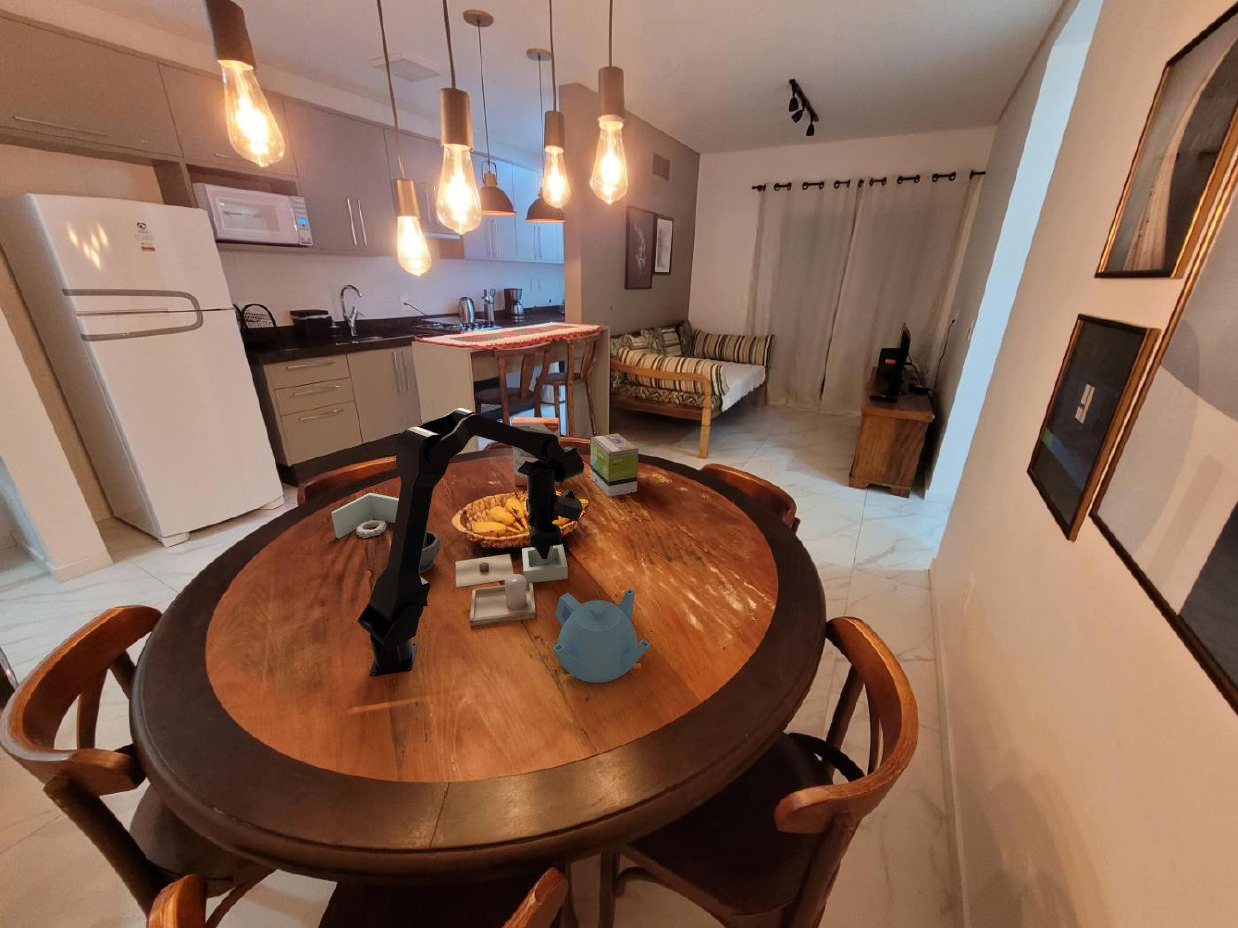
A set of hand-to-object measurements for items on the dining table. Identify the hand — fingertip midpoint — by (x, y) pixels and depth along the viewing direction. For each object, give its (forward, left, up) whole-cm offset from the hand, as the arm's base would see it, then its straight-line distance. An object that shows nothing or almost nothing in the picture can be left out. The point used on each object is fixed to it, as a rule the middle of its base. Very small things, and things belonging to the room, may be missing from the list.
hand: (543, 553), depth 105 cm
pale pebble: (-11, +6, -4) cm, 13 cm away
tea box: (+43, -25, -5) cm, 50 cm away
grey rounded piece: (0, 0, -2) cm, 2 cm away
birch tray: (-11, +9, -4) cm, 15 cm away
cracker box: (+49, -2, -5) cm, 49 cm away
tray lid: (+2, +13, -4) cm, 14 cm away
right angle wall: (+26, +41, -5) cm, 49 cm away
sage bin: (0, 0, -4) cm, 4 cm away
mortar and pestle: (+7, +27, -5) cm, 28 cm away
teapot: (-28, -7, -5) cm, 29 cm away
